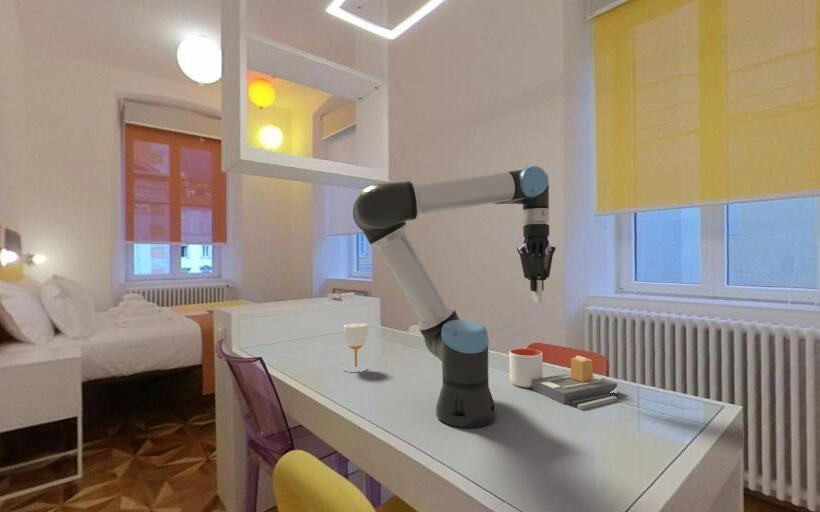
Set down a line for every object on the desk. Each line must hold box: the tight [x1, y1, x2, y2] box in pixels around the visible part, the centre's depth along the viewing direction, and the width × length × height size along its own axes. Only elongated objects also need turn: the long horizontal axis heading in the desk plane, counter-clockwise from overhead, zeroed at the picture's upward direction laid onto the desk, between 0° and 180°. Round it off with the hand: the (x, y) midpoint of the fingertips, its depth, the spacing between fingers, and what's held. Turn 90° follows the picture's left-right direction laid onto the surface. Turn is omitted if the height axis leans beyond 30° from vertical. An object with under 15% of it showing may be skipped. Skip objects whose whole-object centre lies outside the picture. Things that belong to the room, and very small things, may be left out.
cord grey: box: [576, 396, 618, 411], centre depth 107 cm, size 14×1×1 cm, turn 116°
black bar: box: [570, 392, 619, 408], centre depth 109 cm, size 16×1×1 cm, turn 113°
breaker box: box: [531, 373, 618, 405], centre depth 117 cm, size 20×13×3 cm, turn 113°
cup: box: [508, 348, 544, 389], centre depth 125 cm, size 10×10×10 cm
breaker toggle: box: [570, 355, 594, 382], centre depth 119 cm, size 4×4×7 cm
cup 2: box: [343, 322, 369, 367], centre depth 144 cm, size 9×9×16 cm
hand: (537, 301), depth 120 cm, fingers closed
